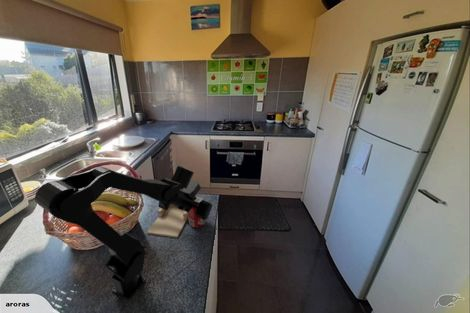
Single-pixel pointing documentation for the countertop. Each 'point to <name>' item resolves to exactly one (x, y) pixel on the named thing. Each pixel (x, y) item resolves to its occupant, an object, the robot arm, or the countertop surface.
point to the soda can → (193, 219)
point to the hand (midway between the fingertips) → (199, 208)
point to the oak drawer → (169, 222)
